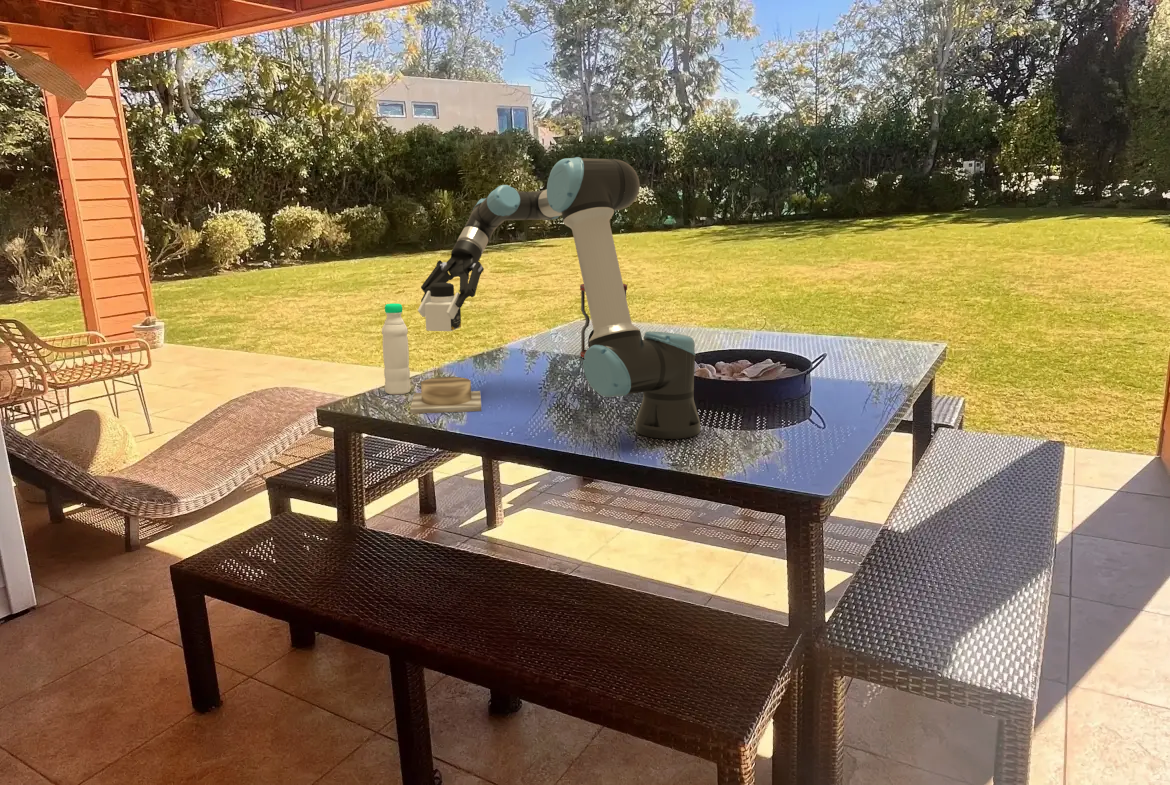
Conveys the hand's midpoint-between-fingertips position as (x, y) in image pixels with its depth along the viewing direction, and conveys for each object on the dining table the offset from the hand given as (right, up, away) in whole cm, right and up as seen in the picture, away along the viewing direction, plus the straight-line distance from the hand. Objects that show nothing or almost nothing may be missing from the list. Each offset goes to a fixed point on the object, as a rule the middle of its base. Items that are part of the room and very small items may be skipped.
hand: (435, 314), depth 212 cm
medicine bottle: (+1, -4, +4) cm, 6 cm away
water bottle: (-15, -20, +22) cm, 33 cm away
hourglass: (+45, -8, +74) cm, 87 cm away
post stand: (+1, -23, +8) cm, 24 cm away
